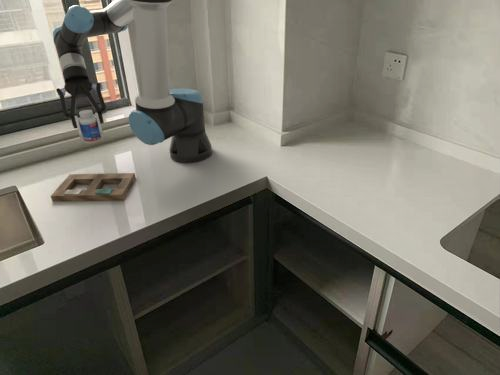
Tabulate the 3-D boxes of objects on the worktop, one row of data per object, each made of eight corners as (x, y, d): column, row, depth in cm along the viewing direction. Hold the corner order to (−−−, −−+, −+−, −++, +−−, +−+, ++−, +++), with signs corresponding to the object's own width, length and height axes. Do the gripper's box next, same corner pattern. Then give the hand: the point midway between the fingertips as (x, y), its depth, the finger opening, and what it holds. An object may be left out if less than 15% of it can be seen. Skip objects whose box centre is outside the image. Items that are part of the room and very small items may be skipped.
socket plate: (135, 178, 118) (134, 172, 117) (123, 200, 107) (122, 193, 106) (71, 179, 119) (69, 173, 118) (52, 201, 108) (50, 195, 106)
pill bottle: (95, 143, 118) (87, 114, 113) (81, 143, 119) (72, 114, 114) (105, 137, 123) (97, 108, 118) (90, 136, 124) (82, 108, 119)
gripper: (104, 73, 127) (121, 133, 123) (46, 81, 121) (62, 145, 117) (102, 60, 121) (120, 123, 116) (40, 68, 114) (57, 135, 110)
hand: (91, 134), depth 116 cm, fingers closed on pill bottle, 5 cm apart
